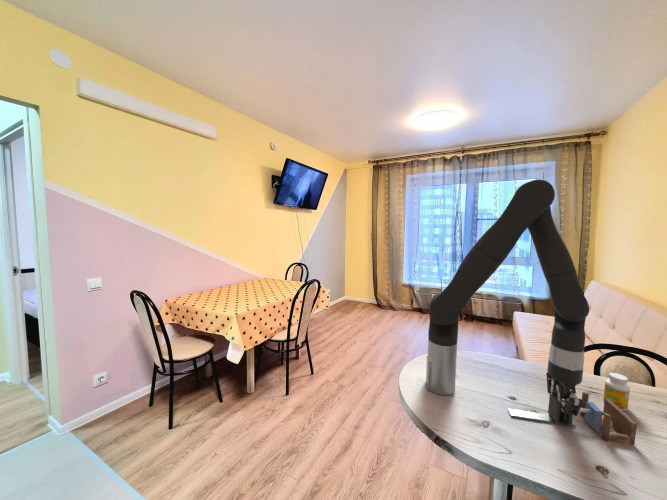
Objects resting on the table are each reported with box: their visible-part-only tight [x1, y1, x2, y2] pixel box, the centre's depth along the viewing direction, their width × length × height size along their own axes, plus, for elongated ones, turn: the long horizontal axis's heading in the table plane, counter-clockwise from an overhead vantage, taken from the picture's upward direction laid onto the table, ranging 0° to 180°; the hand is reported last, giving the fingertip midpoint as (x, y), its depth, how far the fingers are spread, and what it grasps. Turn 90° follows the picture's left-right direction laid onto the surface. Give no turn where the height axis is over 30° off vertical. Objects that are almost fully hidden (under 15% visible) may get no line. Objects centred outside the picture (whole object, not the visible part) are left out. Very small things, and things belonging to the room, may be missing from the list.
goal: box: [579, 391, 638, 446], centre depth 75 cm, size 7×10×7 cm, turn 165°
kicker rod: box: [547, 393, 603, 430], centre depth 77 cm, size 11×4×6 cm, turn 75°
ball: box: [601, 415, 614, 431], centre depth 76 cm, size 4×4×4 cm
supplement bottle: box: [602, 372, 631, 411], centre depth 85 cm, size 5×5×10 cm
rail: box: [507, 408, 577, 428], centre depth 80 cm, size 16×3×1 cm, turn 75°
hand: (559, 417), depth 78 cm, fingers closed on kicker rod, 4 cm apart
